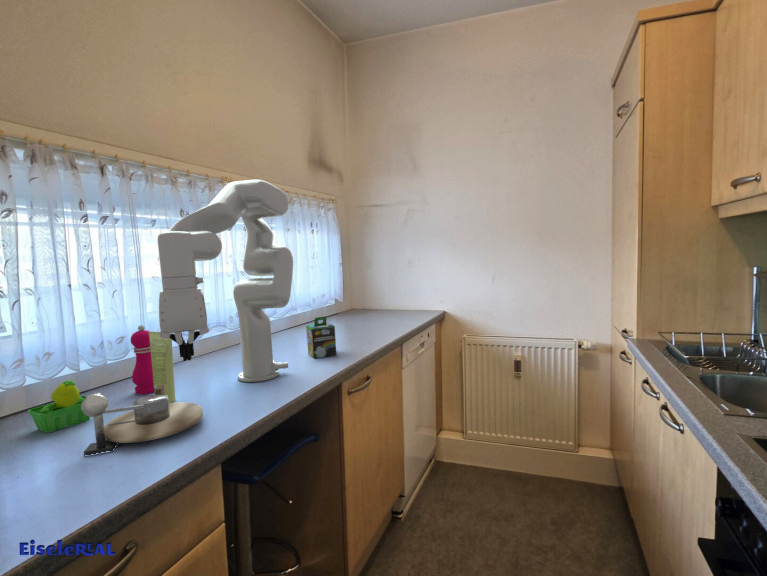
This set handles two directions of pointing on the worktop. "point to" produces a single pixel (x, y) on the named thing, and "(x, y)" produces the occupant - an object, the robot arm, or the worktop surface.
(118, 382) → the worktop surface
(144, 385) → the pepper mill
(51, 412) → the fruit basket
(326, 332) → the chalk box
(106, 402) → the knob-topped metal post
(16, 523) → the worktop surface
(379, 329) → the worktop surface
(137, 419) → the cover
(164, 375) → the tube
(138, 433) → the turntable
